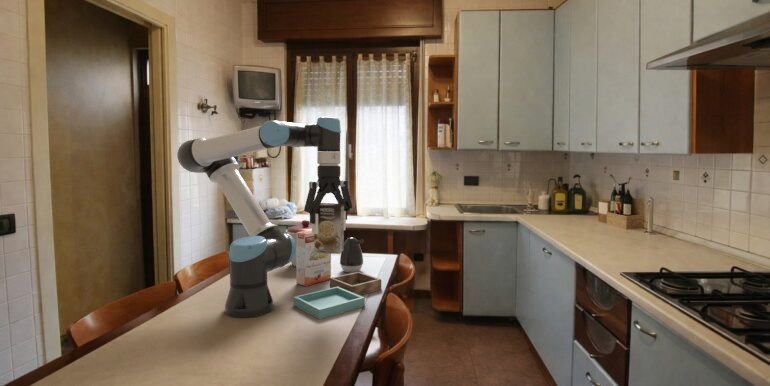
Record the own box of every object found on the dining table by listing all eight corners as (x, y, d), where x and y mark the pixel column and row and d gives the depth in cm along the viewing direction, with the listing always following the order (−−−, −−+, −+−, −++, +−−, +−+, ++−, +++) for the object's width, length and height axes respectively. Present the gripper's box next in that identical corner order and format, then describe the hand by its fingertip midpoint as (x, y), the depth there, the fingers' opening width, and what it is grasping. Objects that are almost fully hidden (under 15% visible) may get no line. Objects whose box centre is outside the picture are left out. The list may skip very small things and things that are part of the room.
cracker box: (305, 287, 166) (305, 233, 164) (295, 284, 170) (295, 231, 168) (332, 279, 177) (332, 229, 175) (322, 276, 180) (321, 227, 179)
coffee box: (313, 253, 141) (312, 204, 140) (318, 249, 147) (317, 202, 146) (340, 254, 140) (340, 205, 139) (344, 249, 146) (344, 203, 145)
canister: (282, 262, 203) (281, 218, 201) (319, 258, 211) (319, 216, 209) (290, 272, 187) (290, 224, 185) (330, 267, 194) (330, 221, 193)
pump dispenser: (360, 275, 183) (360, 240, 182) (336, 273, 185) (336, 238, 184) (366, 269, 193) (366, 235, 192) (343, 267, 195) (343, 234, 194)
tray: (319, 319, 134) (319, 309, 133) (293, 305, 145) (293, 296, 145) (364, 306, 145) (364, 297, 145) (337, 294, 157) (337, 286, 157)
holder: (351, 297, 154) (351, 286, 154) (329, 288, 165) (329, 278, 164) (381, 289, 163) (381, 279, 163) (358, 281, 174) (358, 271, 173)
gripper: (304, 165, 131) (305, 237, 133) (363, 164, 146) (362, 229, 148) (292, 164, 137) (293, 233, 139) (349, 164, 152) (349, 226, 154)
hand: (329, 231), depth 143 cm, fingers closed on coffee box, 10 cm apart
